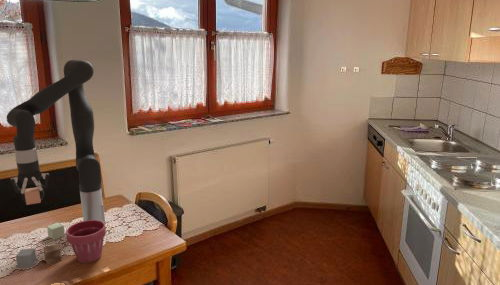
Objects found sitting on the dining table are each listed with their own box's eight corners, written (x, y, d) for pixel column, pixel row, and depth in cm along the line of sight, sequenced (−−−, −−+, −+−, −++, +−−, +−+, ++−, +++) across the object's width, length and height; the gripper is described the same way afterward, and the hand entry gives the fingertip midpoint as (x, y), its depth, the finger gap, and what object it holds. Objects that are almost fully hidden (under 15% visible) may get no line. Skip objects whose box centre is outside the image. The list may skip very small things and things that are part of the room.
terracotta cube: (41, 198, 163) (39, 186, 161) (40, 202, 158) (38, 190, 157) (27, 200, 161) (25, 188, 159) (26, 204, 156) (24, 193, 155)
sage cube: (59, 232, 177) (58, 222, 176) (65, 235, 174) (63, 225, 173) (48, 236, 174) (46, 226, 172) (53, 240, 171) (52, 229, 169)
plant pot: (86, 270, 147) (82, 239, 144) (61, 260, 154) (57, 231, 151) (115, 253, 159) (112, 224, 156) (92, 244, 166) (88, 216, 163)
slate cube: (36, 259, 155) (34, 248, 154) (32, 266, 150) (30, 255, 149) (22, 261, 154) (21, 249, 153) (17, 268, 149) (15, 256, 148)
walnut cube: (58, 255, 158) (57, 243, 157) (61, 260, 154) (59, 249, 153) (45, 259, 156) (43, 247, 154) (47, 264, 152) (45, 253, 150)
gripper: (47, 155, 161) (53, 193, 165) (7, 159, 155) (14, 199, 160) (47, 159, 155) (53, 200, 159) (4, 164, 149) (12, 206, 153)
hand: (33, 199), depth 159 cm, fingers closed on terracotta cube, 5 cm apart
